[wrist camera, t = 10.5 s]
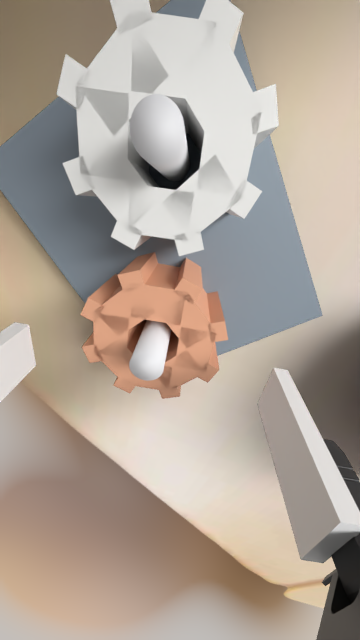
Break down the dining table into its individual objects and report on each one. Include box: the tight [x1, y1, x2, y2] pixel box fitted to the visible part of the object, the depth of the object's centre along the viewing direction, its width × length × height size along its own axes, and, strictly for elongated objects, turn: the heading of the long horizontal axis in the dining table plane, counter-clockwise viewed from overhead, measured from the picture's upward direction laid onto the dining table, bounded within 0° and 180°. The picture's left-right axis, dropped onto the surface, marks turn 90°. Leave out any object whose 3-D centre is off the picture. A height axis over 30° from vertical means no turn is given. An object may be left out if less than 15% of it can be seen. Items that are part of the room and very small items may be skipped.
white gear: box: [57, 0, 279, 256], centre depth 13 cm, size 10×10×6 cm
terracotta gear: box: [80, 252, 228, 399], centre depth 18 cm, size 10×10×6 cm
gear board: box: [0, 0, 323, 381], centre depth 15 cm, size 18×22×10 cm
